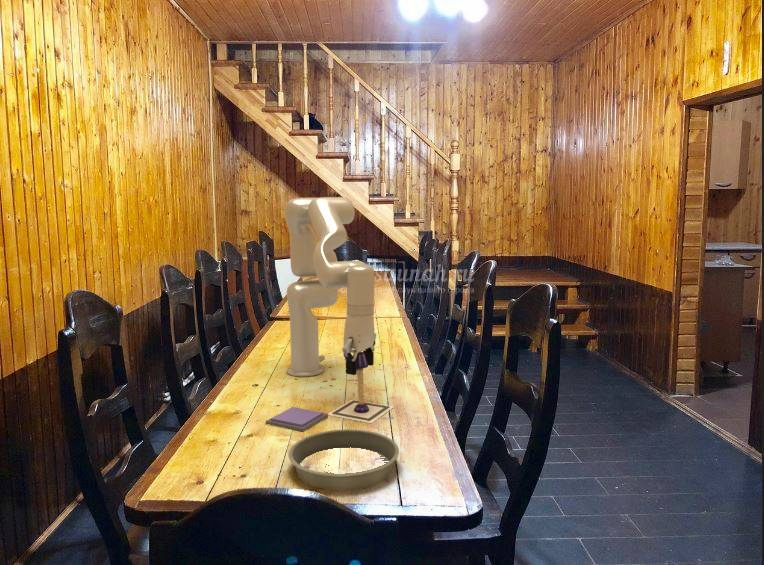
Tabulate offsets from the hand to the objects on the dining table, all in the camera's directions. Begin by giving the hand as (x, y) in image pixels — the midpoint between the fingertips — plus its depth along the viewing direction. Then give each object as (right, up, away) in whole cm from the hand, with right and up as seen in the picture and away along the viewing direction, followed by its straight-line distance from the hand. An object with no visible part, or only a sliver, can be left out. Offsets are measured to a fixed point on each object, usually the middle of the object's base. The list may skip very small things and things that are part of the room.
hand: (359, 369), depth 171 cm
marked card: (0, -12, +1) cm, 12 cm away
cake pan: (-2, -18, -34) cm, 39 cm away
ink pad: (-17, -13, -6) cm, 22 cm away
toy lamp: (0, -12, +1) cm, 12 cm away
